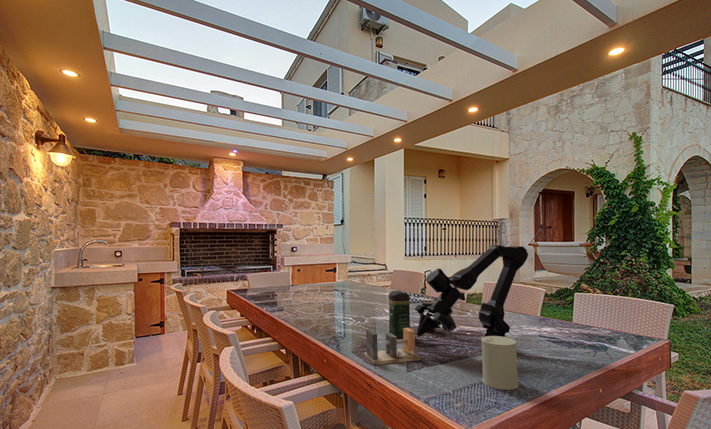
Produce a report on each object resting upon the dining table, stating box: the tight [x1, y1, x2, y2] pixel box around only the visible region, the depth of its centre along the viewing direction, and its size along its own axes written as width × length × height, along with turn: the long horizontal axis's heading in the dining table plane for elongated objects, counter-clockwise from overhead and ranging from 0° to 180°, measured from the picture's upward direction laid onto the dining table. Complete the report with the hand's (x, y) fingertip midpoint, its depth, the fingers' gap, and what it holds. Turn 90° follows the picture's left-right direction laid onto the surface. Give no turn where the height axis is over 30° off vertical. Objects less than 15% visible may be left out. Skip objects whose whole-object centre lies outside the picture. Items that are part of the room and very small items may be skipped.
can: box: [480, 336, 520, 391], centre depth 97 cm, size 9×9×12 cm
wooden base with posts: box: [363, 328, 422, 366], centre depth 119 cm, size 16×10×9 cm, turn 105°
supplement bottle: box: [419, 301, 437, 333], centre depth 155 cm, size 7×7×12 cm
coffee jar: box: [388, 290, 411, 340], centre depth 146 cm, size 10×8×19 cm
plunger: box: [385, 327, 416, 355], centre depth 118 cm, size 9×8×8 cm
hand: (417, 335), depth 122 cm, fingers closed
